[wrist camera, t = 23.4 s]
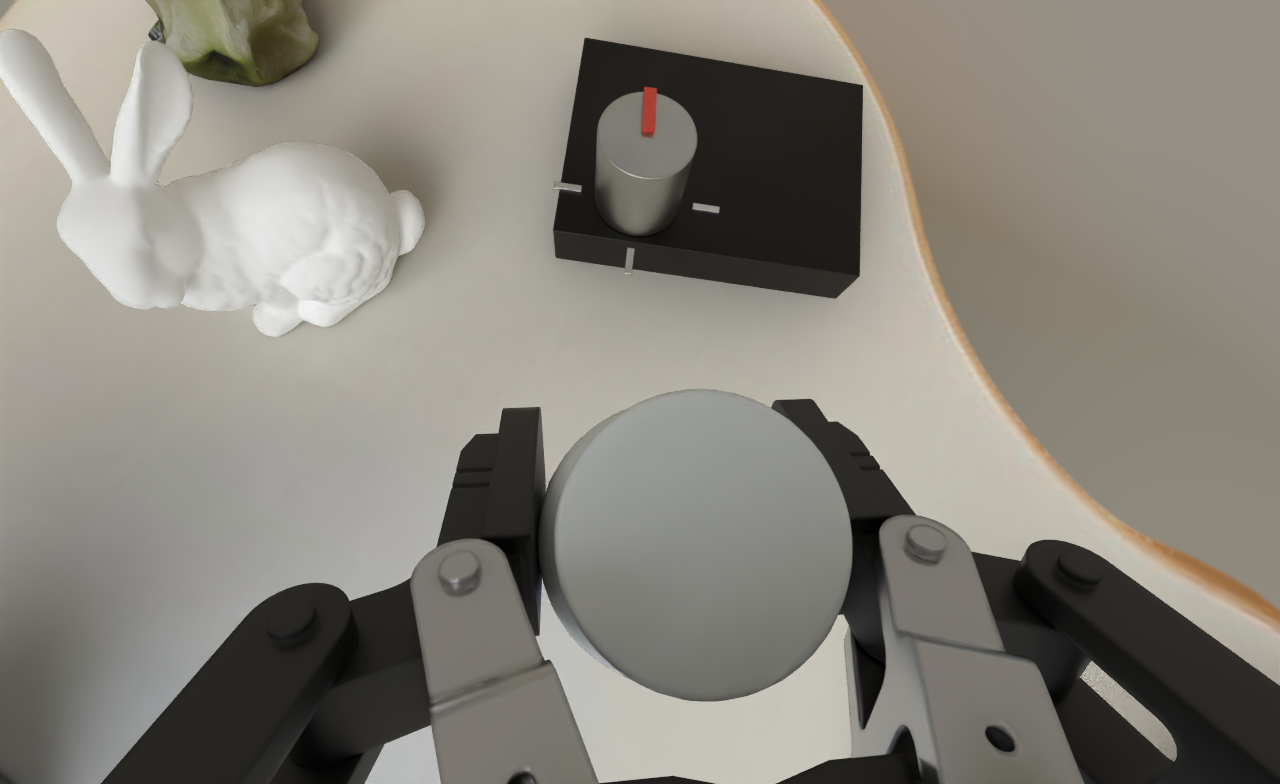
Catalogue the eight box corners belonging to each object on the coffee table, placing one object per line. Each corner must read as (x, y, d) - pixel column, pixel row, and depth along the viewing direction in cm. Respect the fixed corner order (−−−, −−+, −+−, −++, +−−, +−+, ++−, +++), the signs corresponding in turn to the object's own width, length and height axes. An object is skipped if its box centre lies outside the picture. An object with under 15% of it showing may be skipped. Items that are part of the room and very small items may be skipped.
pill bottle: (516, 520, 15) (444, 497, 7) (655, 416, 16) (728, 294, 8) (625, 673, 15) (680, 834, 7) (763, 553, 16) (955, 566, 8)
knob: (678, 240, 30) (698, 179, 25) (591, 233, 30) (594, 169, 24) (680, 165, 31) (700, 91, 26) (597, 157, 31) (600, 80, 26)
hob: (545, 287, 32) (541, 260, 29) (579, 77, 35) (579, 33, 32) (834, 328, 33) (860, 307, 30) (840, 120, 36) (864, 82, 33)
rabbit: (228, 378, 29) (-6, 272, 17) (167, 222, 31) (-85, 31, 19) (458, 282, 31) (387, 134, 20) (391, 143, 33) (288, -71, 21)
